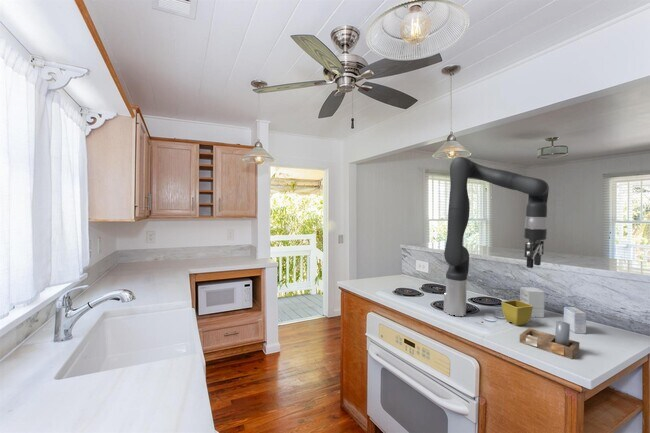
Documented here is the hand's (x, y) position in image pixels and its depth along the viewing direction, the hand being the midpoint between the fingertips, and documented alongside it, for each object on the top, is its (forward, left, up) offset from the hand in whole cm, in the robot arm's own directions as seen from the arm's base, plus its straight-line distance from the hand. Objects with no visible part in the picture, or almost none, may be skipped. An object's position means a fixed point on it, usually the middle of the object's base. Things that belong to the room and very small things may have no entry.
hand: (533, 266), depth 125 cm
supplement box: (-7, +22, -28) cm, 36 cm away
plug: (+13, -11, -28) cm, 32 cm away
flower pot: (-7, +4, -28) cm, 29 cm away
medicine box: (+11, +16, -28) cm, 34 cm away
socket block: (+9, -11, -28) cm, 31 cm away
